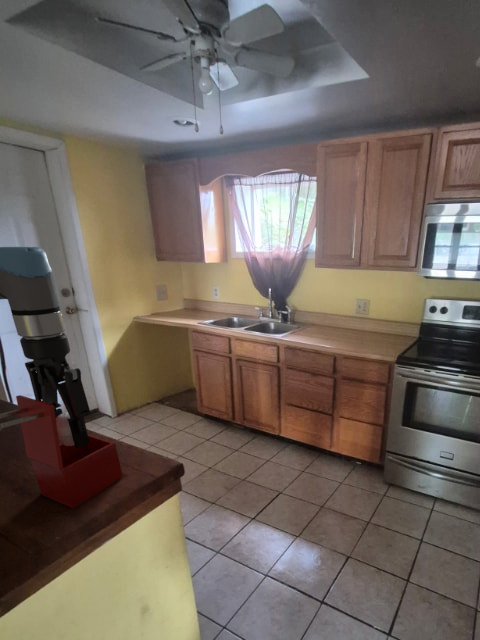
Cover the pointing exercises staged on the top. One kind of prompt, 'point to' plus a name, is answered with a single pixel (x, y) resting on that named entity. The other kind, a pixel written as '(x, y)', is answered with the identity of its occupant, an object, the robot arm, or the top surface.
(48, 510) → the top surface
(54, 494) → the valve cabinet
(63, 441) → the muffin
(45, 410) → the hatch
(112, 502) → the top surface
